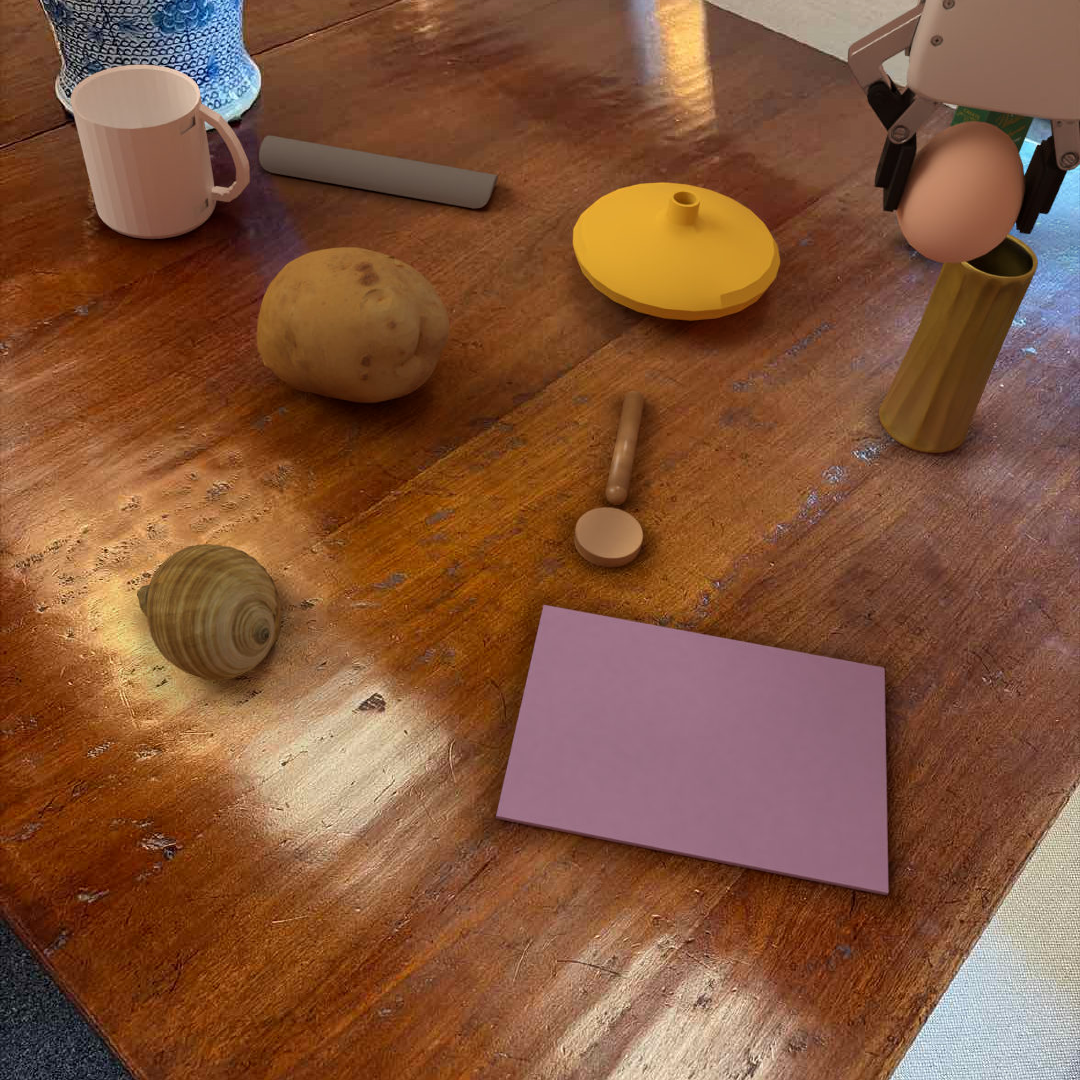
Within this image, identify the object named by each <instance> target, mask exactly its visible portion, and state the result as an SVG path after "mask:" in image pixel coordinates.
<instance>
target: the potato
mask: <svg viewBox="0 0 1080 1080" xmlns="http://www.w3.org/2000/svg"><path fill="white" fill-rule="evenodd" d="M435 288H436V287H435V286H434V285H433V283H432V282H430V280H429V279H428V278H427V277H426V276H425V275H424V274H422V273H421V272H420V271H418V270H417V269H416V268H414V267H413V266H411V265H410V264H408V263H406V262H404V261H402V260H400V259H398V258H396V255H394V254H391V255H388V254H385V253H382V252H379V251H375V250H371V249H367V248H362V247H354V246H342V247H340V246H339V247H330V248H325V249H319V250H314V251H310V252H307V253H304V254H302V255H300V256H298V257H296V258H295V259H292V260H291V261H289V262H288V263H286V264H285V265H284V267H283V268H282V269H281V270H280V271H279V272H278V273H277V274H276V275H275V277H274V278H273V279H272V280H271V282H270V283H269V285H268V286H267V288H266V291H265V293H264V295H263V298H262V301H261V304H260V309H259V312H258V318H257V325H256V345H257V346H256V347H257V352H258V353H259V355H260V357H261V360H262V364H263V365H264V367H265V368H266V369H267V370H268V371H270V372H272V373H273V374H274V375H275V376H276V377H277V378H279V379H280V380H281V381H282V382H284V383H285V384H287V385H289V386H290V387H292V388H293V389H295V390H298V391H301V392H303V393H311V394H314V395H320V396H322V397H327V398H328V397H329V398H333V399H337V400H343V401H349V402H355V403H362V404H365V403H366V404H372V403H373V404H375V403H381V402H387V401H390V400H393V399H400V398H401V397H403V396H406V395H409V394H411V393H413V392H414V391H416V390H418V389H419V388H420V387H422V386H423V385H424V384H425V383H426V382H427V381H428V380H429V379H430V377H432V374H433V373H434V372H435V369H436V366H437V363H438V361H439V360H440V358H441V355H442V353H443V351H444V349H445V347H446V346H447V343H448V341H449V337H450V320H449V315H448V311H447V309H446V306H445V305H444V303H443V301H442V298H441V296H440V294H439V292H438V291H437V290H436V289H435Z"/></svg>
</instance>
